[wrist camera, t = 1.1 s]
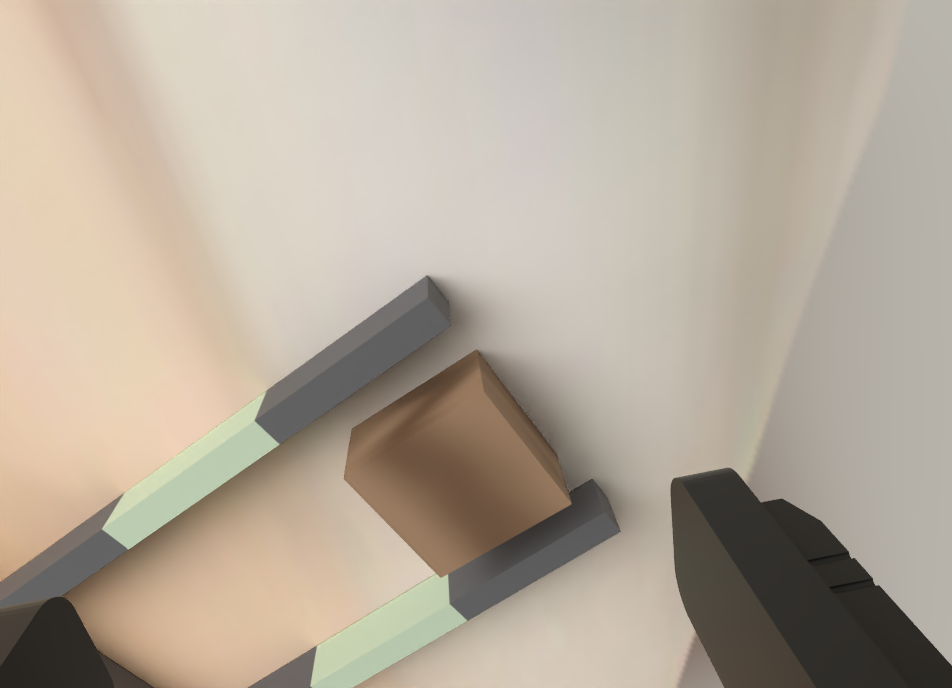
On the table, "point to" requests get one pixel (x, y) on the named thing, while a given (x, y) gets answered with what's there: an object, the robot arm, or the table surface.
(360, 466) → the walnut block
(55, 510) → the table surface
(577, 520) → the box
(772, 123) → the table surface
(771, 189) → the table surface
